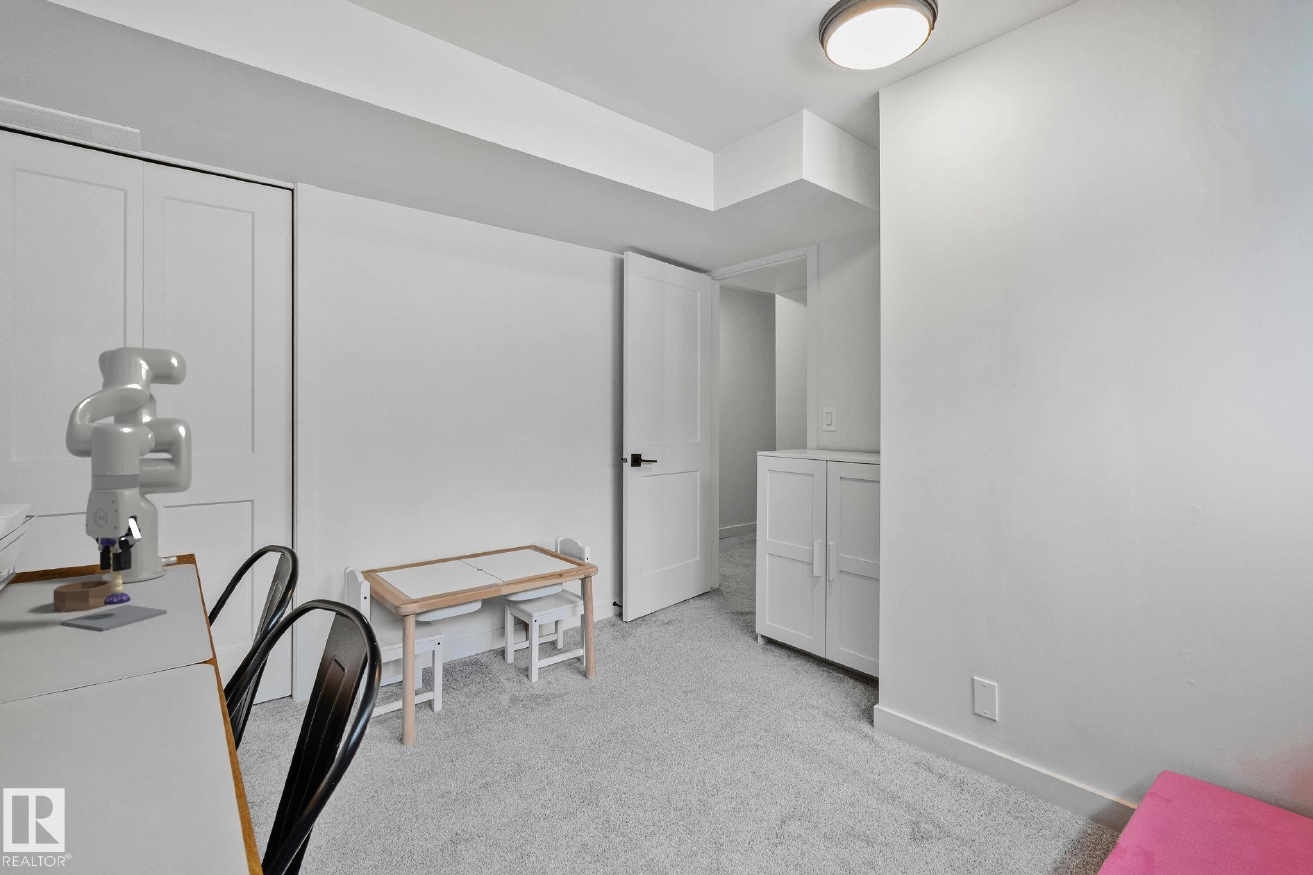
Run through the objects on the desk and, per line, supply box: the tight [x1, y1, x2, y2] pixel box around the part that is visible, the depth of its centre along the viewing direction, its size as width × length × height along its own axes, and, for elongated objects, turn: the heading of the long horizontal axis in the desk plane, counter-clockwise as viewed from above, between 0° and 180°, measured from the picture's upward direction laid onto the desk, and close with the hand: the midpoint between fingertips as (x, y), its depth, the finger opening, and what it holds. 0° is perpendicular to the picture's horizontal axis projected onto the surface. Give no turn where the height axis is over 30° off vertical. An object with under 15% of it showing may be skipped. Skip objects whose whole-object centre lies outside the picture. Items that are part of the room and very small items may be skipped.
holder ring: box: [53, 579, 112, 613], centre depth 135 cm, size 9×9×4 cm
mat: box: [60, 604, 168, 632], centre depth 127 cm, size 12×12×1 cm
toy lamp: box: [100, 533, 131, 606], centre depth 126 cm, size 5×5×17 cm
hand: (115, 568), depth 126 cm, fingers closed on toy lamp, 2 cm apart
